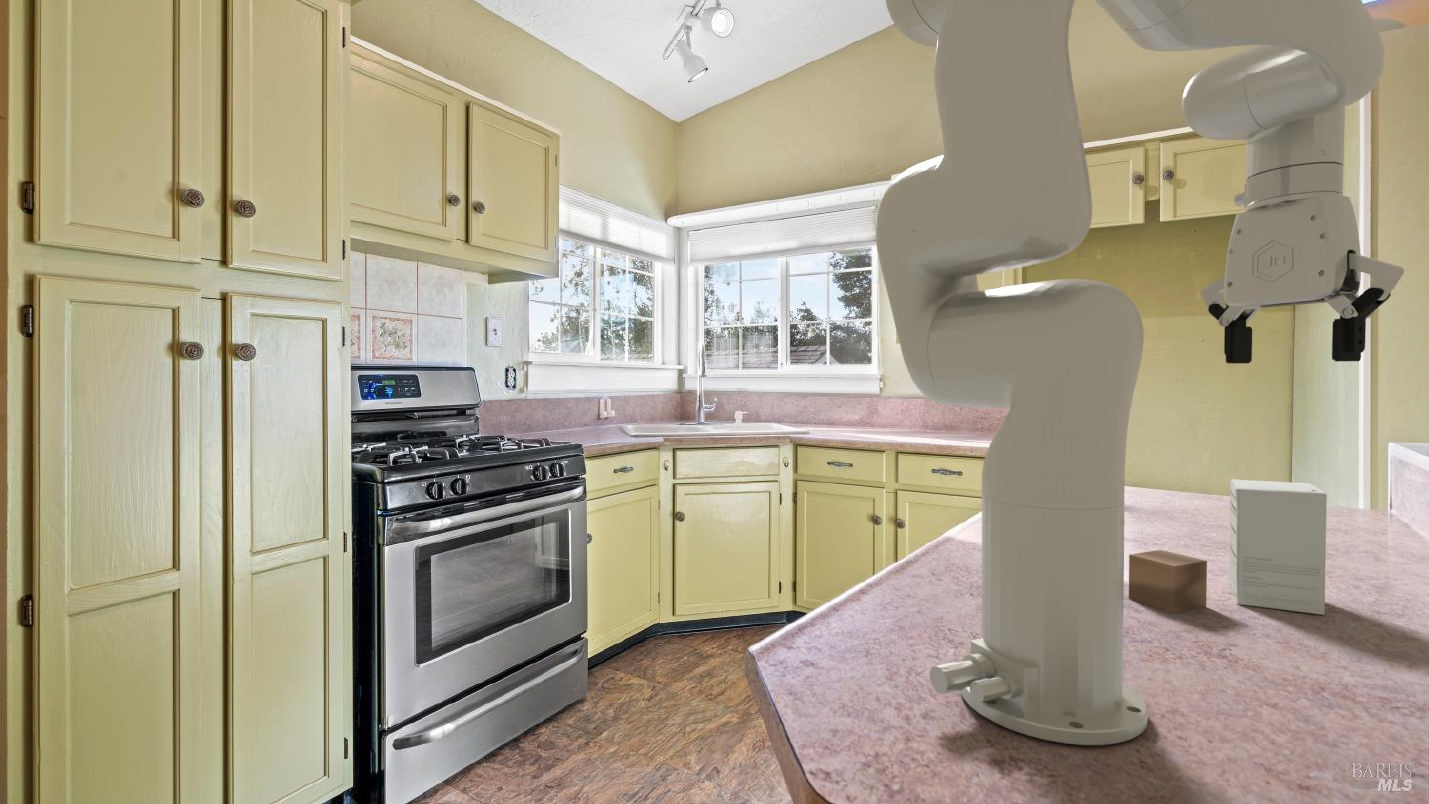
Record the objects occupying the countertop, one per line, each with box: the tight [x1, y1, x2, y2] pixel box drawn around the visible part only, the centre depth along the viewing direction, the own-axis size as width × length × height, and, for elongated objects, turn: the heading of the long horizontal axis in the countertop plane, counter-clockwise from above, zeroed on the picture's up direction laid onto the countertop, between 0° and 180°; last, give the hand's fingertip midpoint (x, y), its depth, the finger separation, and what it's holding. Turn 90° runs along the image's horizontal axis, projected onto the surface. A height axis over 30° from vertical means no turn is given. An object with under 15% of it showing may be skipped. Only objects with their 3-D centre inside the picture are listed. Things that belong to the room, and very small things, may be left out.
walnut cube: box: [1128, 549, 1208, 614], centre depth 73 cm, size 5×5×5 cm
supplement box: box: [1228, 478, 1328, 616], centre depth 74 cm, size 7×7×13 cm
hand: (1289, 362), depth 70 cm, fingers open, 9 cm apart
